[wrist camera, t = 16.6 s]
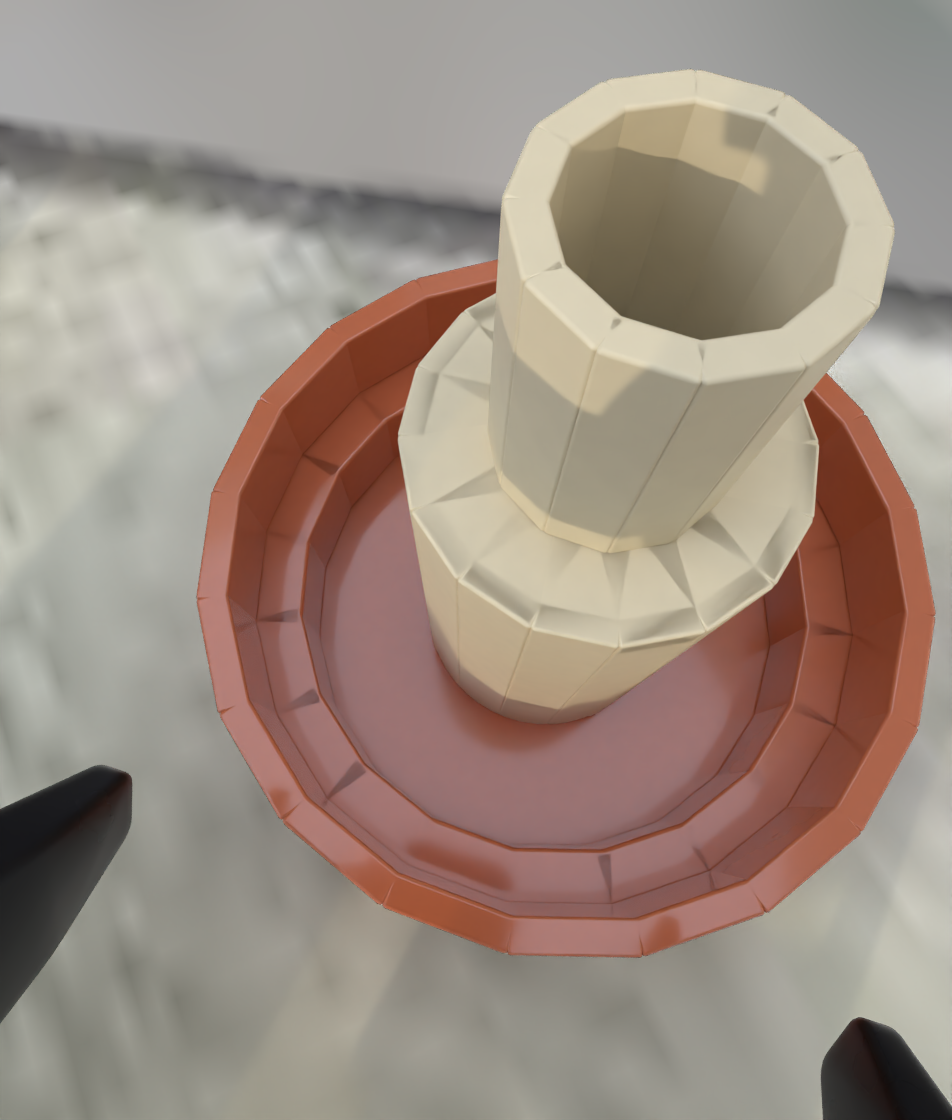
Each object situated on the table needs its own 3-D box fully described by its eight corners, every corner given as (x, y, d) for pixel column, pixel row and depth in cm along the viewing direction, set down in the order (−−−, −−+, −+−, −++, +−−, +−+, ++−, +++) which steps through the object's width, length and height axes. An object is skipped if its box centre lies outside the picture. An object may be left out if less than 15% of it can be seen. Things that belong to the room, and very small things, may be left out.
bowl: (473, 1057, 16) (477, 1161, 11) (167, 549, 20) (73, 466, 15) (931, 683, 19) (1088, 641, 14) (590, 298, 22) (623, 161, 18)
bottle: (450, 744, 17) (419, 586, 5) (413, 525, 19) (323, 13, 7) (680, 701, 18) (1166, 457, 6) (623, 490, 20) (895, -54, 7)
